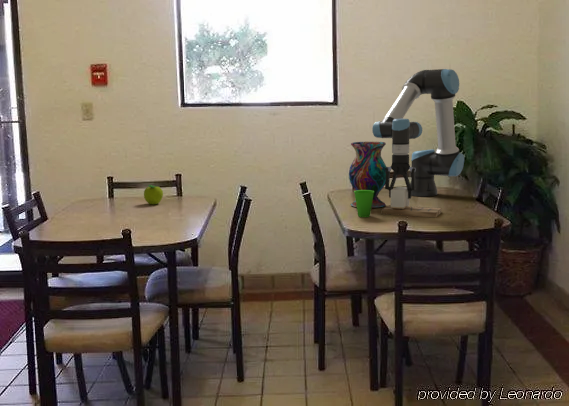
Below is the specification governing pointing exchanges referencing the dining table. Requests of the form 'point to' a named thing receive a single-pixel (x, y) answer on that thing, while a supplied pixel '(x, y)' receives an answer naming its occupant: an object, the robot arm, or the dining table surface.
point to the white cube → (398, 197)
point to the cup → (364, 202)
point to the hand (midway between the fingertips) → (400, 205)
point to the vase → (368, 170)
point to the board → (412, 211)
